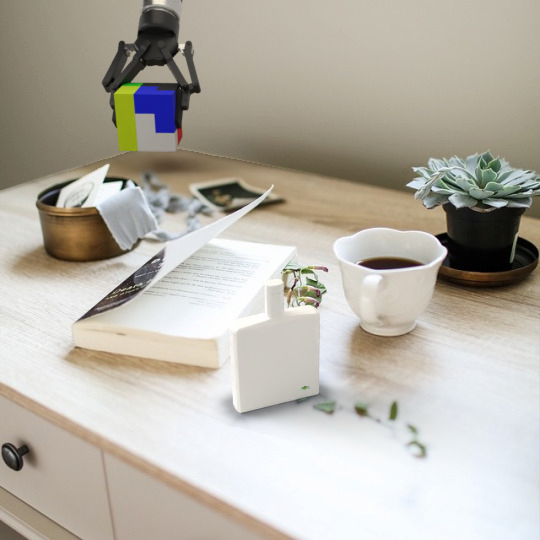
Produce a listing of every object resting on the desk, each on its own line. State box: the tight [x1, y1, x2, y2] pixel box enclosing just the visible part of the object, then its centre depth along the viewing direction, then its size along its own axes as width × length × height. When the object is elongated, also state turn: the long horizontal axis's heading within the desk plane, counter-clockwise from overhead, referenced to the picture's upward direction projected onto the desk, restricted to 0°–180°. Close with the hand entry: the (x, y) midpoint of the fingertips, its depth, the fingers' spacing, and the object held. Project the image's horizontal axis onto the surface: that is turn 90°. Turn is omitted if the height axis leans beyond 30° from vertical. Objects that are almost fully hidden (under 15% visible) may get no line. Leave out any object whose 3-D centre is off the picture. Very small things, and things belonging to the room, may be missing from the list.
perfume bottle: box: [228, 278, 321, 414], centre depth 59 cm, size 8×2×12 cm, turn 110°
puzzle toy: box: [114, 82, 183, 153], centre depth 121 cm, size 10×10×10 cm
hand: (146, 124), depth 119 cm, fingers closed on puzzle toy, 10 cm apart
